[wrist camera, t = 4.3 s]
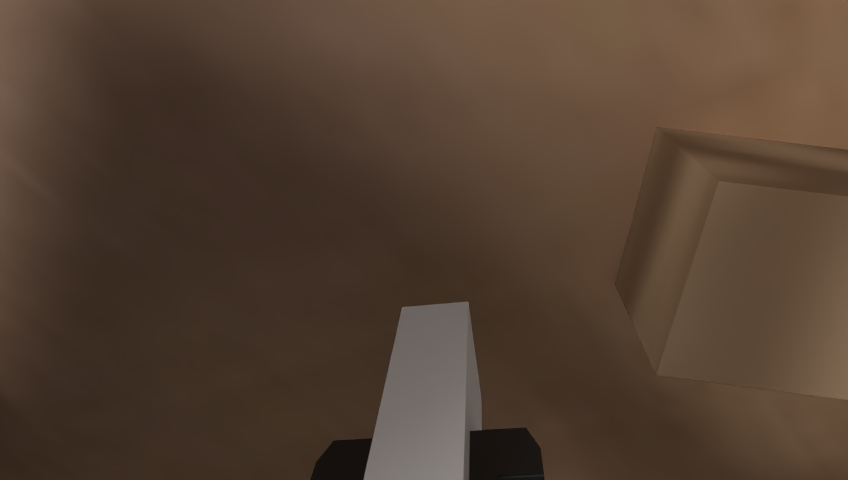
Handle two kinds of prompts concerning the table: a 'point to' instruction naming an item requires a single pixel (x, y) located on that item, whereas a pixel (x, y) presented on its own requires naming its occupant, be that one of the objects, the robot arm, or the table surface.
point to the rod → (741, 263)
